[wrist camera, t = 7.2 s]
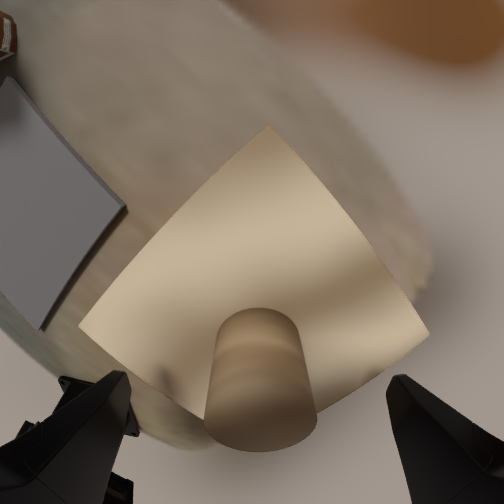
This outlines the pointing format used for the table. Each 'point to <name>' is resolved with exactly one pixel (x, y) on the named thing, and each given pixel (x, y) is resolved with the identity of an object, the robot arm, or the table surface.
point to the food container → (7, 36)
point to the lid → (257, 303)
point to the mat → (44, 207)
